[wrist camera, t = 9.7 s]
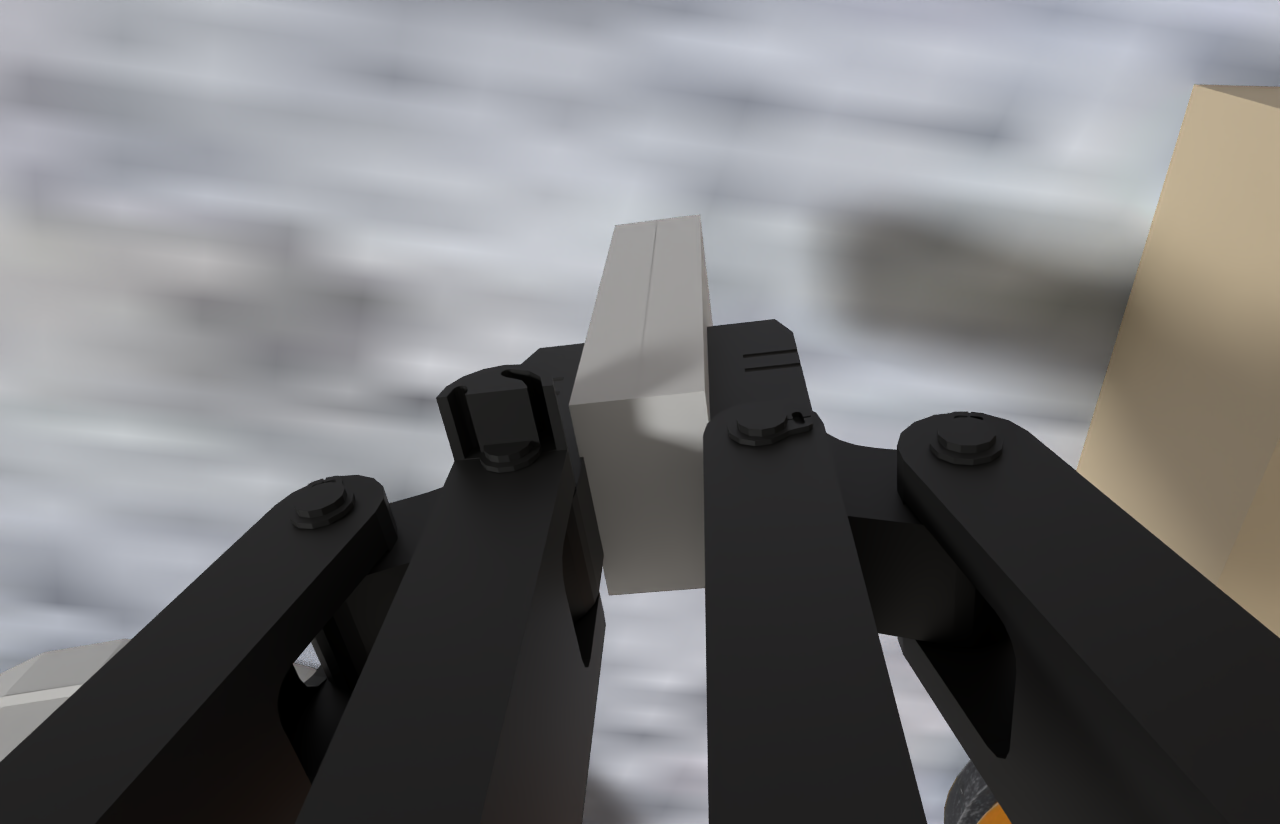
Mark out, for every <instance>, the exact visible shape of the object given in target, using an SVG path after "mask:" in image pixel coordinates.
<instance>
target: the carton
mask: <svg viewBox="0 0 1280 824" xmlns="http://www.w3.org/2000/svg"><path fill="white" fill-rule="evenodd" d="M1076 471H1077V472H1078V473H1079V474H1081V475H1082V476H1083V477H1084V478H1085V479H1087V480H1088V481H1089V482H1090V483H1092V484H1093V485H1094V486H1095V487H1096V488H1098V489H1099V490H1100V491H1101V492H1102V493H1104V494H1105V495H1106V496H1107V497H1109V498H1110V499H1111V500H1112V501H1113V502H1115V503H1116V504H1117V505H1118V506H1120V507H1121V508H1122V509H1123V510H1124V511H1126V512H1127V513H1128V514H1129V515H1130V516H1132V517H1133V518H1134V519H1135V520H1137V521H1138V522H1139V523H1140V524H1141V525H1143V526H1144V527H1145V528H1146V529H1148V530H1149V531H1150V532H1151V533H1152V534H1154V535H1155V536H1156V537H1157V538H1158V539H1160V540H1161V541H1162V542H1163V543H1165V544H1166V545H1167V546H1168V547H1169V548H1171V549H1172V550H1173V551H1174V552H1176V553H1177V554H1178V555H1179V556H1180V557H1182V558H1183V559H1184V560H1185V561H1187V562H1188V563H1189V564H1190V565H1191V566H1193V567H1194V568H1195V569H1196V570H1197V571H1199V572H1200V573H1201V574H1202V575H1204V576H1205V577H1206V578H1207V579H1208V580H1210V581H1211V582H1212V583H1213V584H1215V585H1216V586H1217V587H1218V588H1219V589H1221V590H1222V591H1223V592H1224V593H1225V594H1227V595H1228V596H1229V597H1230V598H1232V599H1233V600H1234V601H1235V602H1236V603H1238V604H1239V605H1240V606H1241V607H1243V608H1244V609H1245V610H1246V611H1247V612H1249V613H1250V614H1251V615H1252V616H1253V617H1255V618H1256V619H1257V620H1258V621H1260V622H1261V623H1262V624H1263V625H1264V626H1266V627H1267V628H1268V629H1269V630H1271V631H1272V632H1273V633H1274V634H1275V635H1277V636H1278V637H1279V638H1280V87H1268V86H1231V85H1195V84H1194V86H1193V90H1192V93H1191V96H1190V99H1189V103H1188V106H1187V109H1186V113H1185V116H1184V119H1183V122H1182V126H1181V129H1180V132H1179V135H1178V139H1177V142H1176V145H1175V149H1174V152H1173V155H1172V158H1171V162H1170V165H1169V168H1168V172H1167V175H1166V178H1165V181H1164V185H1163V188H1162V191H1161V194H1160V198H1159V201H1158V204H1157V208H1156V211H1155V214H1154V217H1153V221H1152V224H1151V227H1150V231H1149V234H1148V237H1147V240H1146V244H1145V247H1144V250H1143V253H1142V257H1141V260H1140V263H1139V267H1138V270H1137V273H1136V276H1135V280H1134V283H1133V286H1132V290H1131V293H1130V296H1129V299H1128V303H1127V306H1126V309H1125V312H1124V316H1123V319H1122V322H1121V326H1120V329H1119V332H1118V335H1117V339H1116V342H1115V345H1114V349H1113V352H1112V355H1111V358H1110V362H1109V365H1108V368H1107V371H1106V375H1105V378H1104V381H1103V385H1102V388H1101V391H1100V394H1099V398H1098V401H1097V404H1096V408H1095V411H1094V414H1093V417H1092V421H1091V424H1090V427H1089V430H1088V434H1087V437H1086V440H1085V444H1084V447H1083V450H1082V453H1081V457H1080V460H1079V463H1078V467H1077V470H1076Z"/></svg>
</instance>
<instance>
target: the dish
mask: <svg viewBox="0 0 1280 824" xmlns="http://www.w3.org/2000/svg"><path fill="white" fill-rule="evenodd" d="M130 640H131V639H121V640H115V641H109V642H103V643H97V644H91V645H85V646H79V647H73V648H67V649H61V650H55V651H49V652H44V653H42V654H40V655H38V656H36V657H34V658H32V659H30V660H27V661H25V662H23V663H21V664H19V665H17V666H15V667H13V668H11V669H9V670H7V671H5V672H3V673H1V674H0V762H1V761H2V760H3V759H4V758H5V757H6V756H7V755H8V754H9V753H10V752H11V751H12V750H13V749H15V748H16V747H17V746H18V745H19V744H20V743H21V742H22V741H23V740H24V739H25V738H26V737H27V736H28V735H30V734H31V733H32V732H33V731H34V730H35V729H36V728H37V727H38V726H39V725H40V724H41V723H42V722H43V721H45V720H46V719H47V718H48V717H49V716H50V715H51V714H52V713H53V712H54V711H55V710H56V709H57V708H58V707H60V706H61V705H62V704H63V703H64V702H65V701H66V700H67V699H68V698H69V697H70V696H71V695H72V694H73V693H75V692H76V691H77V690H78V689H79V688H80V687H81V686H82V685H83V684H84V683H85V682H86V681H87V680H88V679H90V678H91V677H92V676H93V675H94V674H95V673H96V672H97V671H98V670H99V669H100V668H101V667H102V666H103V665H105V664H106V663H107V662H108V661H109V660H110V659H111V658H112V657H113V656H114V655H115V654H116V653H117V652H118V651H120V650H121V649H122V648H123V647H124V646H125V645H126V644H127V643H128V642H129V641H130ZM293 665H294V667H295V669H296V672H297V674H298V676H299V678H300V679H301V680H302V682H303V683H304V682H305V681H306V680H308V679H309V678H310V677H311V676H313V674H314V673H315V672H316V669H314V668H311V667H308V666H304V665H300V664H296V663H293Z"/></svg>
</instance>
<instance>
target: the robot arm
mask: <svg viewBox="0 0 1280 824" xmlns="http://www.w3.org/2000/svg"><path fill="white" fill-rule="evenodd" d="M436 399H437V403H438V406H439V409H440V413H441V416H442V420H443V423H444V426H445V430H446V433H447V437H448V440H449V443H450V447H451V450H452V453H453V457H454V460H455V461H454V464H453V466H452V468H451V470H450V473H449V475H448V477H447V479H446V482H445V484H444V486H443V487H442V488H439V489H436V490H433V491H431V492H428V493H425V494H421V495H418V496H414V497H411V498H407V499H403V500H400V501H396V502H393V503H389V502H388V499H387V496H386V493H385V491H384V488H383V486H382V485H381V484H380V483H379V482H377V481H376V480H375V479H374V478H370V477H365V476H360V475H349V476H333V477H328V478H326V479H325V480H323V479H320V480H317V481H314V482H312V483H310V484H308V485H307V486H306V487H304V488H301V489H299V490H297V491H295V492H293V493H291V494H290V495H289V496H287V497H286V498H285V499H283V500H282V501H280V502H279V503H278V504H276V505H275V506H274V507H273V508H272V509H271V510H270V511H269V512H267V513H266V514H265V515H264V516H263V517H262V518H261V519H260V520H259V521H258V522H257V523H256V524H255V525H253V526H252V527H251V528H250V529H249V530H248V531H247V532H246V533H245V534H244V535H243V536H242V537H241V538H240V539H238V540H237V541H236V542H235V543H234V544H233V545H232V546H231V547H230V548H229V549H228V550H227V551H226V552H225V553H223V554H222V555H221V556H220V557H219V558H218V559H217V560H216V561H215V562H214V563H213V564H212V565H211V566H210V567H208V568H207V569H206V570H205V571H204V572H203V573H202V574H201V575H200V576H199V577H198V578H197V579H196V580H195V581H193V582H192V583H191V584H190V585H189V586H188V587H187V588H186V589H185V590H184V591H183V592H182V593H181V594H180V595H178V596H177V597H176V598H175V599H174V600H173V601H172V602H171V603H170V604H169V605H168V606H167V607H166V608H165V609H163V610H162V611H161V612H160V613H159V614H158V615H157V616H156V617H155V618H154V619H153V620H152V621H151V622H150V623H148V624H147V625H146V626H145V627H144V628H143V629H142V630H141V631H140V632H139V633H138V634H137V635H136V636H135V637H133V638H132V639H131V640H130V641H129V642H128V643H127V644H126V645H125V646H124V647H123V648H122V649H121V650H120V651H118V652H117V653H116V654H115V655H114V656H113V657H112V658H111V659H110V660H109V661H108V662H107V663H106V664H105V665H103V666H102V667H101V668H100V669H99V670H98V671H97V672H96V673H95V674H94V675H93V676H92V677H91V678H90V679H88V680H87V681H86V682H85V683H84V684H83V685H82V686H81V687H80V688H79V689H78V690H77V691H76V692H75V693H73V694H72V695H71V696H70V697H69V698H68V699H67V700H66V701H65V702H64V703H63V704H62V705H61V706H60V707H58V708H57V709H56V710H55V711H54V712H53V713H52V714H51V715H50V716H49V717H48V718H47V719H46V720H45V721H43V722H42V723H41V724H40V725H39V726H38V727H37V728H36V729H35V730H34V731H33V732H32V733H31V734H30V735H28V736H27V737H26V738H25V739H24V740H23V741H22V742H21V743H20V744H19V745H18V746H17V747H16V748H15V749H13V750H12V751H11V752H10V753H9V754H8V755H7V756H6V757H5V758H4V759H3V760H2V761H1V762H0V824H582V818H583V810H584V801H585V793H586V785H587V777H588V768H589V760H590V752H591V743H592V735H593V727H594V718H595V710H596V702H597V693H598V685H599V677H600V668H601V660H602V652H603V643H604V635H605V627H606V623H605V617H604V611H603V606H602V602H601V597H600V593H599V587H600V580H601V573H602V566H603V569H604V574H605V579H606V584H607V588H608V593H609V595H621V594H633V593H646V592H659V591H672V590H685V589H698V588H705V607H706V672H707V738H708V803H709V824H927V821H926V817H925V813H924V809H923V806H922V802H921V798H920V794H919V790H918V786H917V782H916V779H915V775H914V771H913V767H912V763H911V759H910V755H909V752H908V748H907V744H906V740H905V736H904V732H903V728H902V724H901V721H900V717H899V713H898V709H897V705H896V701H895V697H894V694H893V690H892V686H891V682H890V678H889V674H888V670H887V667H886V663H885V659H884V655H883V651H882V647H881V643H880V639H879V636H878V633H881V634H886V635H892V636H898V641H899V644H900V647H901V650H902V652H903V655H904V656H905V658H906V660H907V661H908V663H909V664H910V666H911V667H912V669H913V671H914V672H915V674H916V675H917V677H918V678H919V680H920V681H921V683H922V685H923V686H924V688H925V689H926V691H927V692H928V694H929V695H930V697H931V699H932V700H933V702H934V703H935V705H936V706H937V708H938V709H939V711H940V713H941V714H942V716H943V717H944V719H945V720H946V722H947V724H948V725H949V727H950V728H951V730H952V731H953V733H954V734H955V736H956V738H957V739H958V741H959V742H960V744H961V745H962V747H963V748H964V750H965V752H966V753H967V755H968V756H969V758H970V759H971V761H972V762H973V764H974V766H975V767H976V769H977V770H978V772H979V773H980V775H981V777H982V778H983V780H984V781H985V783H986V784H987V786H988V787H989V789H990V791H991V792H992V794H993V795H994V797H995V798H996V800H997V801H998V803H999V805H1000V806H1001V808H1002V809H1003V811H1004V812H1005V814H1006V815H1007V817H1008V819H1009V820H1010V822H1011V823H1012V824H1280V638H1279V637H1278V636H1277V635H1275V634H1274V633H1273V632H1272V631H1271V630H1269V629H1268V628H1267V627H1266V626H1264V625H1263V624H1262V623H1261V622H1260V621H1258V620H1257V619H1256V618H1255V617H1253V616H1252V615H1251V614H1250V613H1249V612H1247V611H1246V610H1245V609H1244V608H1243V607H1241V606H1240V605H1239V604H1238V603H1236V602H1235V601H1234V600H1233V599H1232V598H1230V597H1229V596H1228V595H1227V594H1225V593H1224V592H1223V591H1222V590H1221V589H1219V588H1218V587H1217V586H1216V585H1215V584H1213V583H1212V582H1211V581H1210V580H1208V579H1207V578H1206V577H1205V576H1204V575H1202V574H1201V573H1200V572H1199V571H1197V570H1196V569H1195V568H1194V567H1193V566H1191V565H1190V564H1189V563H1188V562H1187V561H1185V560H1184V559H1183V558H1182V557H1180V556H1179V555H1178V554H1177V553H1176V552H1174V551H1173V550H1172V549H1171V548H1169V547H1168V546H1167V545H1166V544H1165V543H1163V542H1162V541H1161V540H1160V539H1158V538H1157V537H1156V536H1155V535H1154V534H1152V533H1151V532H1150V531H1149V530H1148V529H1146V528H1145V527H1144V526H1143V525H1141V524H1140V523H1139V522H1138V521H1137V520H1135V519H1134V518H1133V517H1132V516H1130V515H1129V514H1128V513H1127V512H1126V511H1124V510H1123V509H1122V508H1121V507H1120V506H1118V505H1117V504H1116V503H1115V502H1113V501H1112V500H1111V499H1110V498H1109V497H1107V496H1106V495H1105V494H1104V493H1102V492H1101V491H1100V490H1099V489H1098V488H1096V487H1095V486H1094V485H1093V484H1092V483H1090V482H1089V481H1088V480H1087V479H1085V478H1084V477H1083V476H1082V475H1081V474H1079V473H1078V472H1077V471H1076V470H1074V469H1073V468H1072V467H1071V466H1070V465H1068V464H1067V463H1066V462H1065V461H1064V460H1062V459H1061V458H1060V457H1059V456H1057V455H1056V454H1055V453H1054V452H1053V451H1051V450H1050V449H1049V448H1048V447H1046V446H1045V445H1044V444H1043V443H1042V442H1040V441H1039V440H1038V439H1037V438H1036V437H1034V436H1033V435H1032V434H1031V433H1029V432H1028V431H1027V430H1025V429H1023V428H1021V427H1020V426H1018V425H1016V424H1014V423H1013V422H1011V421H1009V420H1005V419H1002V418H998V417H994V416H991V415H987V414H984V413H977V412H971V413H968V412H952V413H948V414H939V415H933V416H930V417H928V418H925V419H922V420H919V421H916V422H914V423H913V424H911V425H910V426H909V427H908V428H907V429H905V430H904V431H903V432H902V433H901V435H900V438H899V441H898V444H897V450H893V449H881V448H872V447H865V446H859V445H854V444H851V443H848V442H844V441H841V440H839V439H837V438H835V437H833V436H831V435H829V434H827V433H826V431H825V427H824V424H823V422H822V421H821V419H820V418H819V416H818V415H817V413H816V412H814V411H812V407H811V403H810V399H809V395H808V391H807V387H806V383H805V379H804V375H803V371H802V367H801V364H800V359H799V355H798V352H797V347H796V343H795V339H794V335H793V332H792V331H791V330H789V329H788V328H786V327H785V326H784V325H782V324H781V323H779V322H778V321H777V320H775V319H772V320H763V321H754V322H745V323H736V324H727V325H719V326H713V324H712V315H711V306H710V297H709V289H708V280H707V271H706V262H705V254H704V245H703V236H702V228H701V219H700V214H699V215H692V216H684V217H676V218H668V219H660V220H653V221H645V222H637V223H629V224H621V225H615V228H614V232H613V236H612V240H611V244H610V247H609V251H608V255H607V259H606V263H605V267H604V271H603V275H602V278H601V282H600V286H599V290H598V294H597V298H596V302H595V305H594V309H593V313H592V317H591V321H590V325H589V329H588V332H587V336H586V340H585V343H582V344H573V345H564V346H555V347H546V348H539V349H538V350H537V351H536V352H535V353H534V354H532V355H531V356H530V357H529V358H528V359H527V360H525V361H524V362H523V363H522V364H521V365H502V366H497V367H492V368H487V369H483V370H480V371H477V372H474V373H472V374H469V375H466V376H464V377H462V378H460V379H458V380H457V381H455V382H453V383H452V384H450V385H448V386H447V387H446V388H445V389H444V390H443V391H442V392H441V393H440V394H439V395H438V396H437V397H436ZM310 642H311V643H312V645H313V647H314V650H315V652H316V654H317V656H318V659H319V661H320V663H321V665H320V667H319V668H318V669H317V670H316V672H315V673H314V674H313V676H311V677H310V678H309V679H308V680H306V681H305V682H304V683H303V682H302V680H301V679H300V678H299V676H298V674H297V672H296V669H295V667H294V665H293V663H294V662H295V661H296V659H297V658H298V657H299V656H300V655H301V653H302V652H303V651H304V650H305V649H306V647H307V646H308V645H309V644H310Z"/></svg>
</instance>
